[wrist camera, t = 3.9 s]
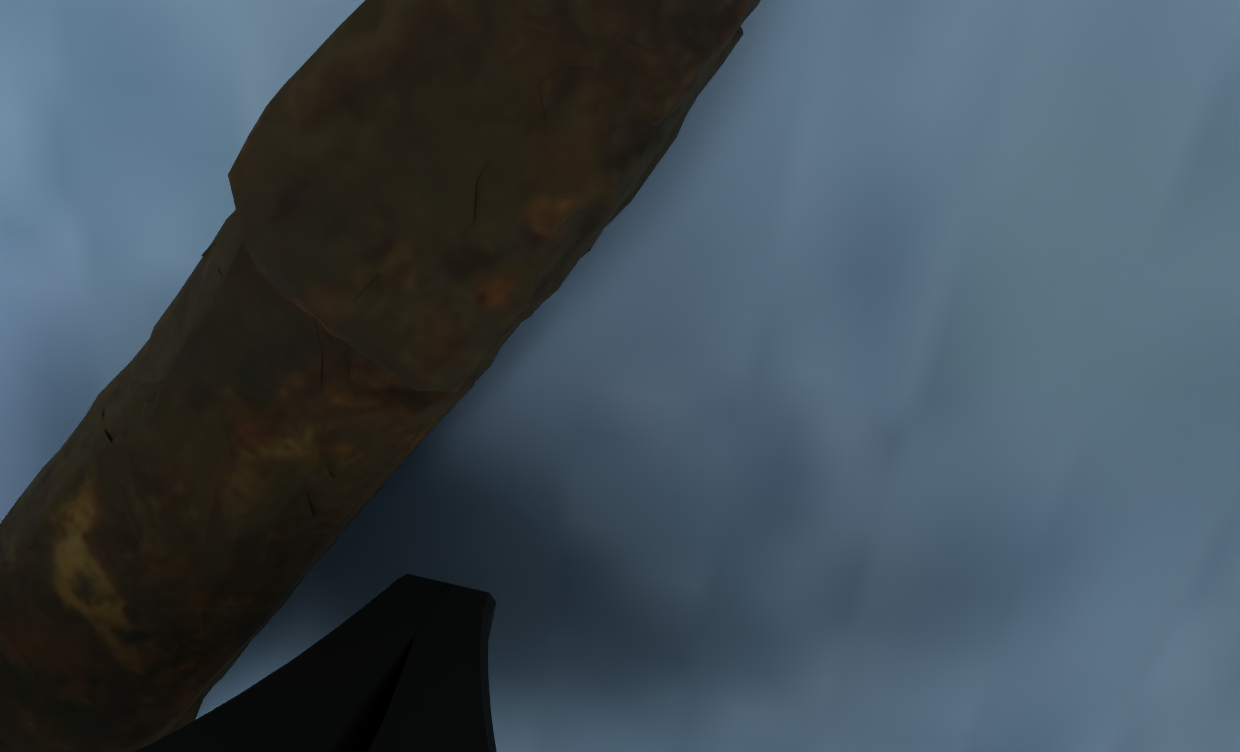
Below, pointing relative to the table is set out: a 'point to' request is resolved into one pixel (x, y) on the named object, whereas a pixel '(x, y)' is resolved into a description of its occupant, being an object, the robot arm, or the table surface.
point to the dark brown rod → (327, 334)
